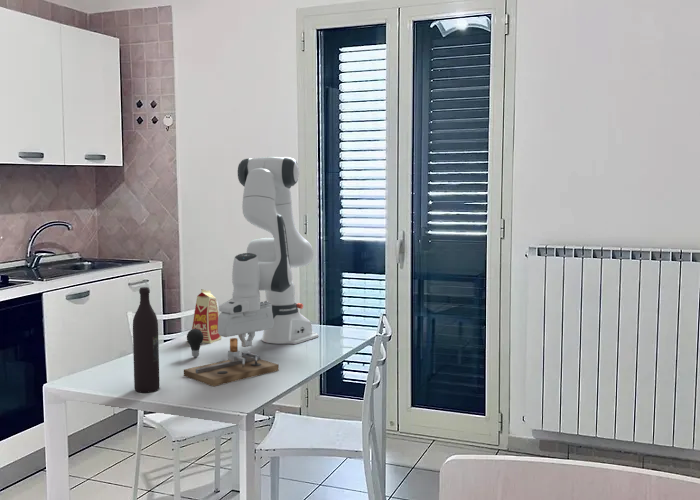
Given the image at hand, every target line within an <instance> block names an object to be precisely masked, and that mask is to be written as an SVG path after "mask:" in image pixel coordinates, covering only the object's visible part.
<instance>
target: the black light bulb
mask: <svg viewBox="0 0 700 500" xmlns="http://www.w3.org/2000/svg"><path fill="white" fill-rule="evenodd" d="M186 341H187V343H188V344H189V346H190V350H191V356H192V357H193V358H194V359H196V358H198V357H199V356H200V350H201V349H200V348H201V345H202V344H203V343H202V341H203V333H202V332H201V331H200V330H199V329H192V328H191V329H190V330H189V331H188V332H187V334H186Z"/></svg>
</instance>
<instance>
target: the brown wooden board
mask: <svg viewBox="0 0 700 500" xmlns="http://www.w3.org/2000/svg"><path fill="white" fill-rule="evenodd" d="M226 362H230V361H229V360H228V359H226V360H222V361H217V362H212V363H208V364H202V365H200V366H195V367H189V368H185V369H183V377H184V378H185V377H186V378H189V379H191V380H194V381H197V382H199V383H202V384H206V385H208V386H211V387H216V386H221V385H225V384H228V383H233V382H237V381H241V380H245V379H250V378H254V377H258V376H261V375H266V374H271V373H273V372H278V371H279V369H280V368H279V363H275V362H272V361H268V360H266V359H265V360H264V359H261V358H260V360H257V364H255V361H252V362H247V363H245V367H242V364H239V365H234V366H230V367H225V368H221V369H216V370H212V371H208V372H203V373H199V374H197V373H196V369H198V368H203V367H207V366H212V365H217V364H221V363H226Z"/></svg>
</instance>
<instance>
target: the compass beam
mask: <svg viewBox="0 0 700 500" xmlns="http://www.w3.org/2000/svg"><path fill="white" fill-rule="evenodd" d="M241 357H242V358H245V363H247V362H252V361H255V364H257V360H260V359H261V356H260V355H258V354H256V353H252V352H250V351H242V352H241ZM239 364H242V361H240V360H239V361H235V362H233V361H230V362H226V363H221V364H217V365H212V366H207V367H203V368H198V369H196V373H197V374H199V373H203V372H208V371H212V370H216V369H221V368H225V367H230V366H234V365H239Z"/></svg>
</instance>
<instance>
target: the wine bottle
mask: <svg viewBox="0 0 700 500" xmlns="http://www.w3.org/2000/svg"><path fill="white" fill-rule="evenodd" d="M138 291H139V293H138V294H139V296H140V297H139V305H138V307H137V310H136V312H135V313H134V316H133V320H132V348H133V349H132V350H133V351H132V352H133V385H134V387H133V388H134V391H135V392H137V393H142V394H143V393H145V394H146V393H152V392H156V391H159V390H160V350H159V346H160V345H159V321H158V317H157V314H156V312H155V311H154V309H153V307H152V304H151V302H150V301H151V300H150V292H151V290H150V287H148V286H142V287H140V288H139V290H138Z"/></svg>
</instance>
